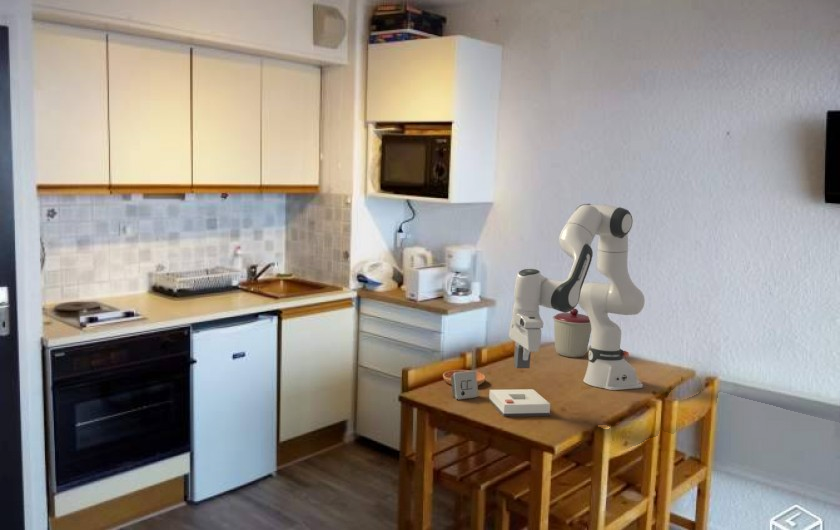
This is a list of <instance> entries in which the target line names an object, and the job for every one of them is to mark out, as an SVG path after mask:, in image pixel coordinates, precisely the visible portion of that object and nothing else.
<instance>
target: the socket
mask: <svg viewBox="0 0 840 530" xmlns="http://www.w3.org/2000/svg"><path fill="white" fill-rule="evenodd" d="M488 396H489V397H488V401H489V403H490V402H491V403H492V404H493V405H494V406H493V405H492V404H491V405H492V406H493V407H494V408H495V409H496V410H497V411H498V413H500V415H501V416H503V417H504V418H505V417H507V416H509V417H542V416H543V417H547V416H549V417H550V413H551V412H550V411H551V403H550V402H549V401H548V400H546V399H545V398H544V397H543V396H542V395H540V394H539V393H538V392H537V391H536V390H535V389H532V388H530V389H529V388H528V389H522V388H521V389H516V388H515V389H489V393H488ZM541 415H542V416H541Z"/></svg>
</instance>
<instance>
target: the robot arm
mask: <svg viewBox="0 0 840 530" xmlns="http://www.w3.org/2000/svg"><path fill="white" fill-rule="evenodd" d="M632 227H633V216H632V214H631V212H630V210H628V209H626V208H624V207H621V206H620V207H617V206H613V205H607V204H591V203H584V204H581V205H579V206H578V207H576V209H575V210H574V212H573V213H572V214H571V216H570V217H569V218H568V219H567V221H566V222H565V225H564V226H563V228H562V229H561V231H560V234H559V236H558V243H559V247H560V248H561V249H562V251H563V252H564V253H565V254H566V255H567V256H568V257H569V258H571V259H573V263H572V266H571V269H570V270H569V273H568V277H567V278H566V279H564V280H557V279H551V278H548V277H546V276H544V275H542V274H541V271H540V270H539V269H537V268H536V269H534V268H524V269H521V270H519V271H518V272H517V274H516V278H515V282H514V289H513V299H514V302H513V306H512V314H511V319H510V323H509V330H508V331H509V333H508V335H509V336H508V337H509V338H510V339H511V340H512V341H514V343H515V342H517V343H518V344H520V345H521V346H522V347H523V350H524V352H523V354H522V359H523V360H528V356H529V353H530V351H531V352H538V351H540V350H539V349H540V347H541V342H542V341H541V340H542V329H543V327H544V321H543V320H542V318H541V315H540V307H544V308H548V309H552V310H556V311H558V312H560V313H570V311H571V310H572V309H574V308H575V309H576V307H577V306H579V307H580V308H581V309H582V310H583V311H584V312H585V313H586V314H585V315H586V316H588V317H589V320H590V323H591V334H590V345H589V346H588V347H589V349H588V362H587V363H588V364H587V368H586V371H585V375H584V378H583V383H585V384H586V385H589V386H592V387H595V388H600V389H601V388H602V389H604V390H605V389H606V390H609V391H620V390H621V391H622V390H632V389H642V388H643V386H644V385H643V383H642V382H641V381H640V380H639V379H638V373H637V370H636V369H635V367H634V366H633V365H631V364H630V363H629V362H628V361H627V360H626V359H625V358H624V357H626V358H627V357H629V355H630V352H628V351H627V350H624V349H621V342H622V329H621V327H620V326H619V325H618V324H617V323H616V322H614V321H613V320H611V318H610V317H609V315H608V314H609V313H610V314H615V315H622V316H632V315H633V316H634V315H639V313H641V312H642V310H643V308H644V306H645V300H646V299H645V296H644V293H643V292H642V291H641V289H639V288H638V287H637V286H636V285H635V283H634V282H633V280H632V278H631V277H630V273H629V270H628V269H629V267H628V252H629V235H628V234H629V232H630V231H631V230H632ZM596 236H599V237H598V243H597V255H596V268H597V270H598V271H599V272H600V274H601V275H603V276H604V277H606V278H607V279H608V280H609V282H610V283H603V282H602V283H601V282H597V281H596V282H594V281H593V282H592V281H591V282H585V279H586V277H587V275H588V272H589V269H590V266H591V264H592V263H591V262H592V260H593V256H594V254H593V248H592V247H591V245H592V243H593V241H594V239H595V237H596Z"/></svg>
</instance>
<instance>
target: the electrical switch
mask: <svg viewBox="0 0 840 530" xmlns="http://www.w3.org/2000/svg"><path fill="white" fill-rule="evenodd" d="M476 372H477V371H476V370H470V371H466V372H457V373H454V374H453V375H451V382H452V385H451V390H452V397H453V398H455V399H456V400H457V399H458V400H465V399H466V400H467V399H473V398H477V397H479V388H478V387H479V386H477V375H476ZM454 385H455V386H454Z"/></svg>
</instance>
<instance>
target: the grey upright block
mask: <svg viewBox="0 0 840 530" xmlns="http://www.w3.org/2000/svg"><path fill="white" fill-rule="evenodd" d="M523 352H524V350H523V347H522V346H521V345H520V344H518V343H517V342H515V341H514V353H513V366H514V367H515V368H516V369H530V368H531V367H530V366H531V365H530V364H531V354H532V353H531V352H532V351H530V353H529V356H528V360H523V359H522V354H523Z"/></svg>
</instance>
